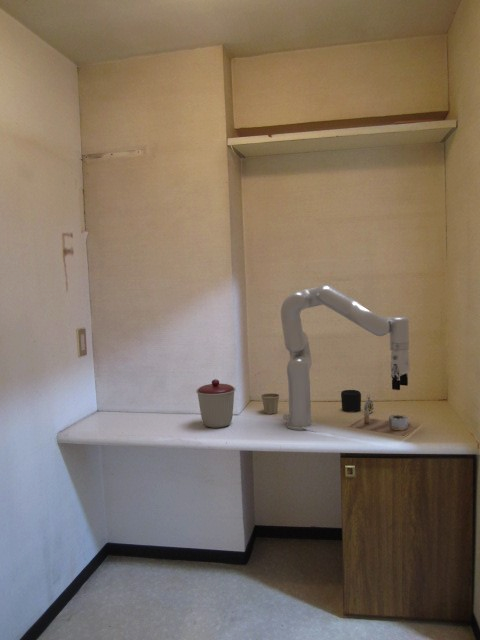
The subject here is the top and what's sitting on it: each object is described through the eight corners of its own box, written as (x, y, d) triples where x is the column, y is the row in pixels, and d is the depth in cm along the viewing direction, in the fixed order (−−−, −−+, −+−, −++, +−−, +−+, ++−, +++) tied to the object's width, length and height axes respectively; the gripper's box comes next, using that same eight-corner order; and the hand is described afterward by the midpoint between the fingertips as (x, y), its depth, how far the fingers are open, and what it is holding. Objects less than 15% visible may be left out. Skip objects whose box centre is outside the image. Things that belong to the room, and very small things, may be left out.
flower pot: (261, 410, 246) (260, 393, 245) (279, 409, 246) (279, 392, 245) (261, 415, 237) (260, 397, 236) (280, 414, 236) (280, 397, 236)
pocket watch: (383, 419, 222) (383, 397, 221) (364, 419, 223) (364, 397, 222) (382, 414, 229) (382, 393, 229) (363, 414, 231) (363, 393, 230)
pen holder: (337, 412, 236) (337, 392, 235) (349, 408, 242) (348, 388, 241) (353, 416, 229) (353, 395, 228) (365, 412, 235) (364, 391, 234)
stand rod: (363, 423, 212) (363, 411, 212) (365, 422, 214) (365, 410, 214) (367, 424, 211) (367, 412, 211) (369, 423, 213) (369, 411, 212)
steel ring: (393, 429, 200) (393, 420, 200) (386, 424, 207) (386, 415, 207) (410, 428, 201) (410, 418, 201) (402, 423, 208) (402, 414, 208)
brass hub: (387, 429, 203) (387, 421, 203) (393, 425, 209) (393, 417, 208) (403, 431, 199) (403, 423, 199) (409, 427, 205) (408, 419, 204)
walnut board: (348, 429, 209) (348, 426, 209) (363, 420, 222) (363, 417, 222) (403, 438, 195) (403, 435, 195) (416, 428, 207) (416, 425, 207)
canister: (242, 420, 230) (240, 376, 228) (229, 431, 213) (227, 384, 211) (206, 418, 236) (204, 375, 234) (191, 429, 219) (189, 383, 217)
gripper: (400, 349, 194) (401, 392, 196) (415, 344, 208) (415, 384, 209) (382, 348, 199) (383, 390, 200) (397, 343, 212) (398, 382, 214)
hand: (400, 387), depth 205 cm, fingers open, 8 cm apart
